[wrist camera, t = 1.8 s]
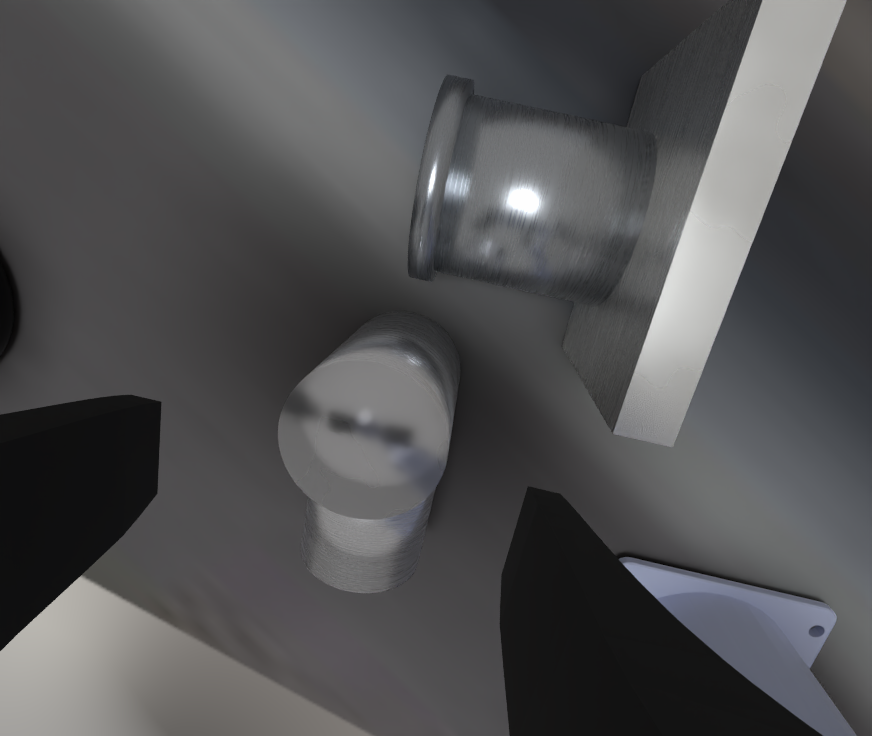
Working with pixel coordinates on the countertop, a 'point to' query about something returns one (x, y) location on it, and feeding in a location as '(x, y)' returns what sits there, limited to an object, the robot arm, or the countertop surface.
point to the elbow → (372, 449)
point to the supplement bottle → (5, 310)
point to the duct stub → (627, 201)
